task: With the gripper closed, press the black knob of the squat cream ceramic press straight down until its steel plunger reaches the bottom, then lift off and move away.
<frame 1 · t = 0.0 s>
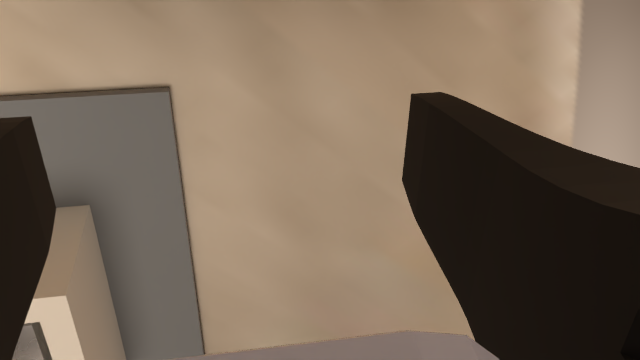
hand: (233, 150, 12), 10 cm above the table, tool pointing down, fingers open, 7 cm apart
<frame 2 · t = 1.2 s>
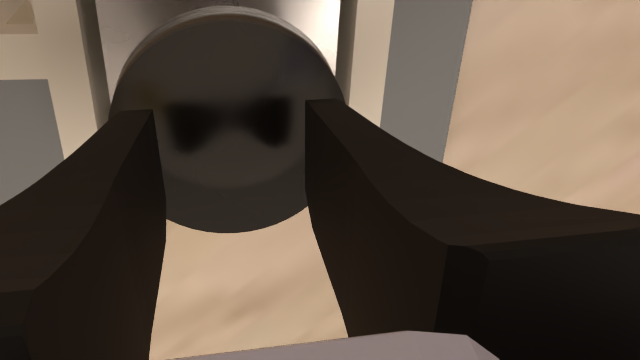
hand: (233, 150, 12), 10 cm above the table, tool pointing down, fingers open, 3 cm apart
press body: (218, 2, 20), resting on slate mat
plunger: (226, 83, 14), point 7 cm above the table, slide at 0.0 cm
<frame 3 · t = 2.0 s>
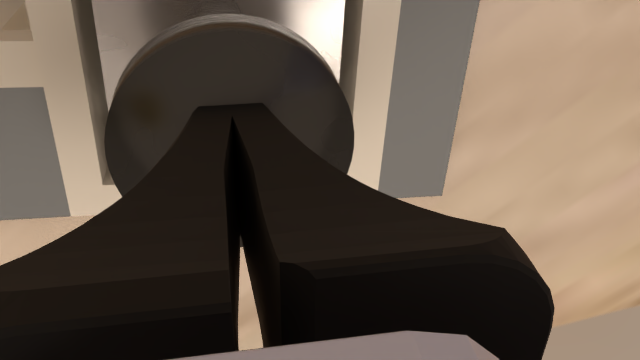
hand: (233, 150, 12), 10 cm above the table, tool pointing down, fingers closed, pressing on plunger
slate mat: (219, 3, 20), on the table
press body: (219, 7, 19), resting on slate mat
plunger: (228, 91, 14), point 7 cm above the table, slide at 0.0 cm, touching gripper
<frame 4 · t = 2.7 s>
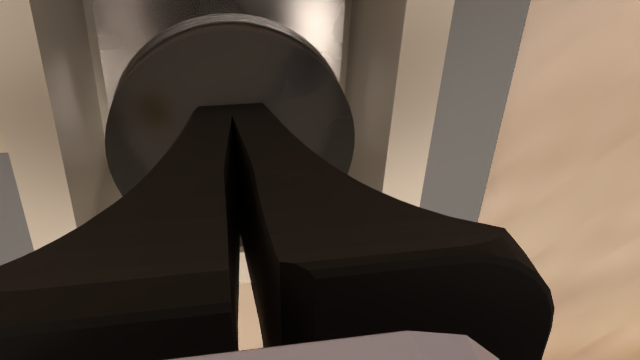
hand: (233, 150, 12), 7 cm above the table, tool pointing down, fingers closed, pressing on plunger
slate mat: (222, 37, 17), on the table
press body: (223, 42, 17), resting on slate mat
plunger: (228, 91, 14), point 4 cm above the table, slide at 3.4 cm, touching gripper
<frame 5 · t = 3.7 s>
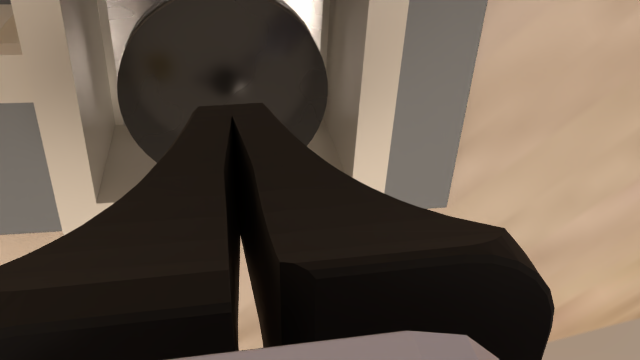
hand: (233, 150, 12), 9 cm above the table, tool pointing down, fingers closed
slate mat: (217, 12, 19), on the table
press body: (217, 16, 19), resting on slate mat
plunger: (221, 53, 16), point 4 cm above the table, slide at 3.4 cm
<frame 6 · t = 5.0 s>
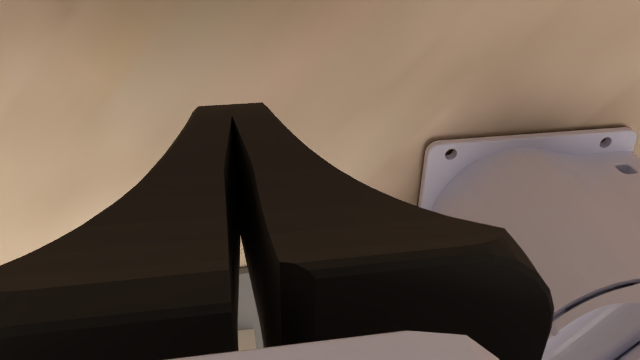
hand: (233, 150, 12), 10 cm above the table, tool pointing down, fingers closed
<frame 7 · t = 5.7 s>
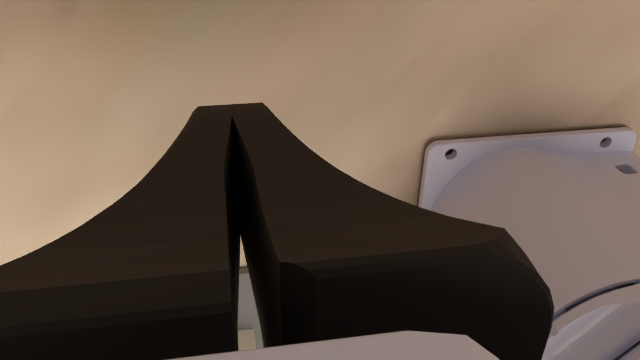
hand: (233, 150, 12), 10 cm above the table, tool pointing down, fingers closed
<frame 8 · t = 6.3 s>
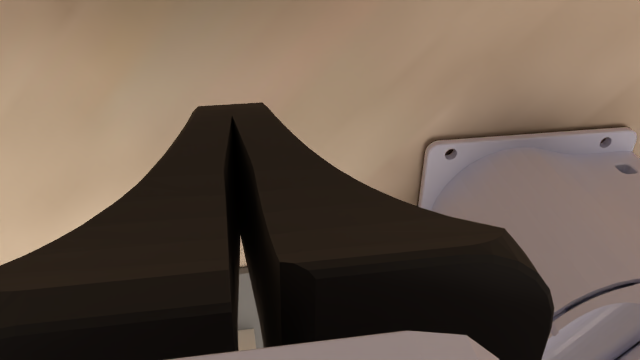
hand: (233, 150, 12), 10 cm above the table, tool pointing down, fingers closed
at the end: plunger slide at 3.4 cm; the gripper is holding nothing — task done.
